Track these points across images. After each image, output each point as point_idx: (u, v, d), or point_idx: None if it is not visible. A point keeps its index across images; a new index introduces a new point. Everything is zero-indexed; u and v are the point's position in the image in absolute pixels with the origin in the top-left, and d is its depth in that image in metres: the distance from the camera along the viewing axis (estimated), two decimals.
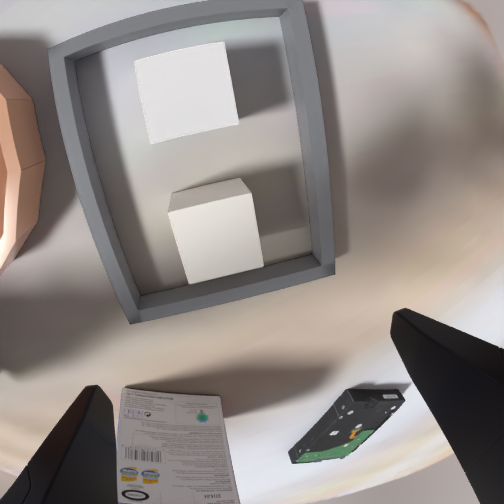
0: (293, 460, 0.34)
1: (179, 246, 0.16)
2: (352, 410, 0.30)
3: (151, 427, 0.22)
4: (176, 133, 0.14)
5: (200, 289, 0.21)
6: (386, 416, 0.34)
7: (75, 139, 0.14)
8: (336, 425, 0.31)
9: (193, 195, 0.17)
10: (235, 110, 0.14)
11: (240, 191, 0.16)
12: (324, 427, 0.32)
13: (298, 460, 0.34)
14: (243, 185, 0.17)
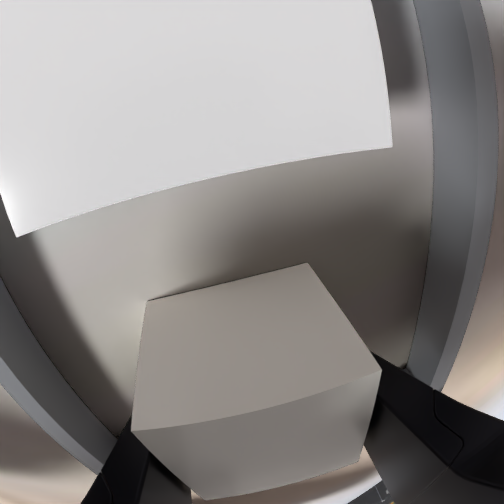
0: None
1: (177, 472, 0.05)
2: None
3: None
4: (110, 183, 0.03)
5: None
6: None
7: None
8: None
9: (200, 339, 0.06)
10: (382, 85, 0.03)
11: (342, 355, 0.05)
12: None
13: None
14: (337, 312, 0.06)
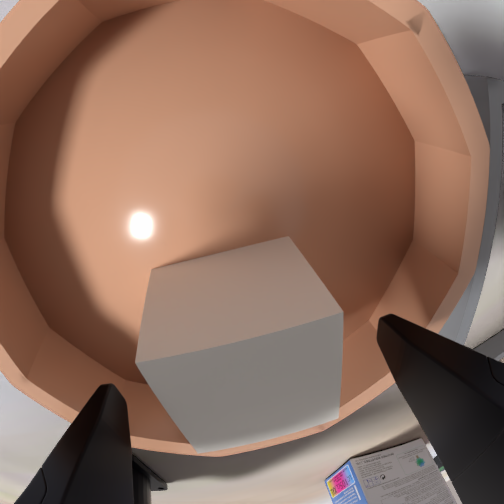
0: None
1: (172, 414, 0.07)
2: None
3: (391, 488, 0.18)
4: None
5: None
6: None
7: (493, 224, 0.10)
8: None
9: (195, 293, 0.08)
10: None
11: (311, 301, 0.07)
12: None
13: None
14: (309, 271, 0.08)
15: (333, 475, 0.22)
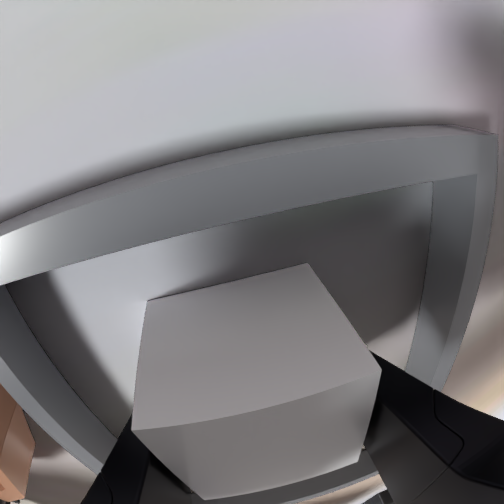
0: None
1: None
2: None
3: None
4: (251, 490, 0.06)
5: (254, 497, 0.14)
6: None
7: (56, 427, 0.07)
8: None
9: None
10: (358, 453, 0.06)
11: None
12: None
13: None
14: None
15: None
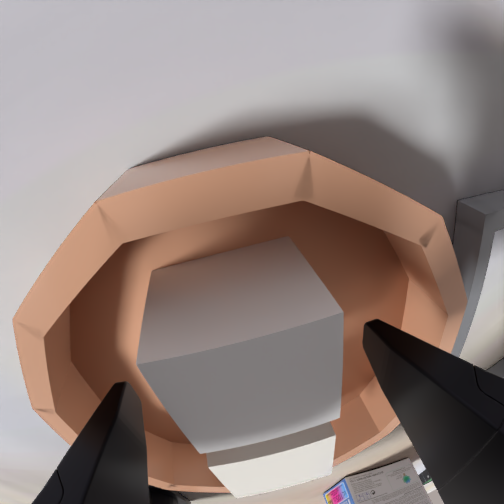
0: None
1: (225, 483, 0.09)
2: None
3: (379, 502, 0.20)
4: (242, 443, 0.08)
5: None
6: None
7: (469, 323, 0.13)
8: None
9: None
10: (338, 406, 0.08)
11: None
12: None
13: (424, 483, 0.33)
14: None
15: (330, 490, 0.24)
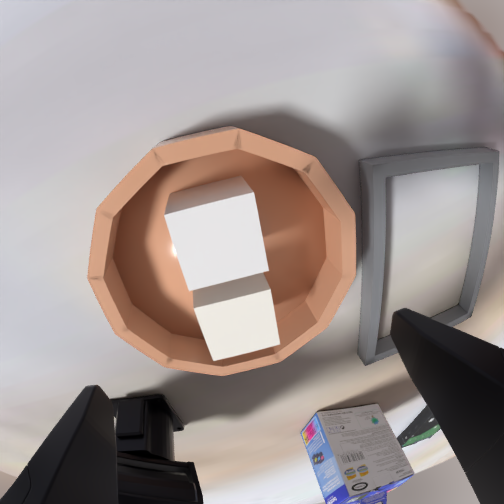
0: (400, 445, 0.42)
1: (204, 333, 0.18)
2: None
3: (348, 436, 0.29)
4: (212, 281, 0.16)
5: None
6: None
7: (382, 247, 0.21)
8: None
9: None
10: (265, 259, 0.16)
11: (259, 285, 0.18)
12: (425, 417, 0.39)
13: (404, 445, 0.42)
14: (261, 273, 0.19)
15: (306, 426, 0.33)
